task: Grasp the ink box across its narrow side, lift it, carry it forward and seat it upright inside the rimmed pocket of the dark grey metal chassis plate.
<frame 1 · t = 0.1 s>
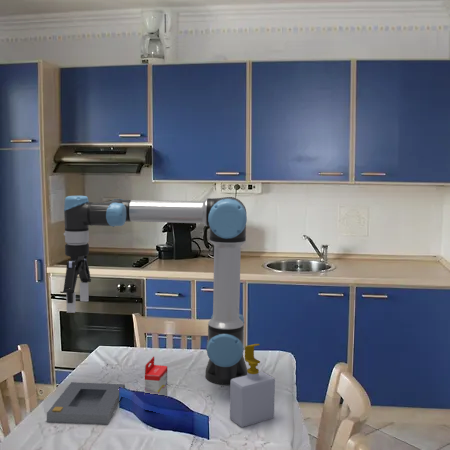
hand: (78, 306, 181), 28 cm above the table, fingers open, 13 cm apart
chassis: (88, 406, 171), on the table
soap bottle: (251, 419, 165), on the table
ink box: (156, 406, 172), on the table
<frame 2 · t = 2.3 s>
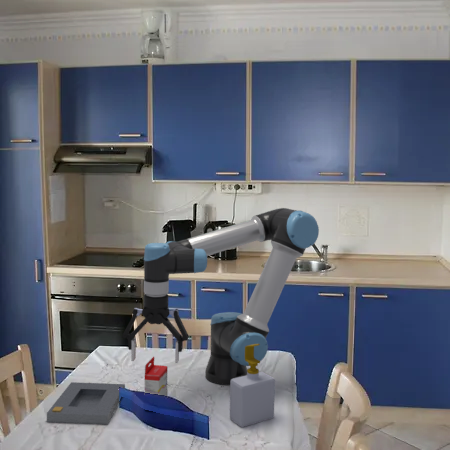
hand: (155, 360, 170), 15 cm above the table, fingers open, 13 cm apart
nothing on the table moved.
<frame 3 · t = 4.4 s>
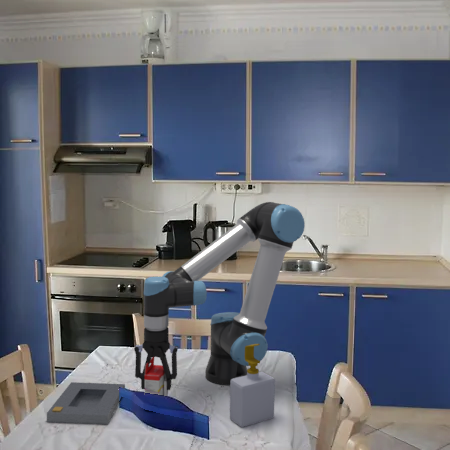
hand: (156, 398, 172), 2 cm above the table, fingers closed on ink box, 5 cm apart
ink box: (156, 406, 172), on the table, touching gripper
everything else where it was.
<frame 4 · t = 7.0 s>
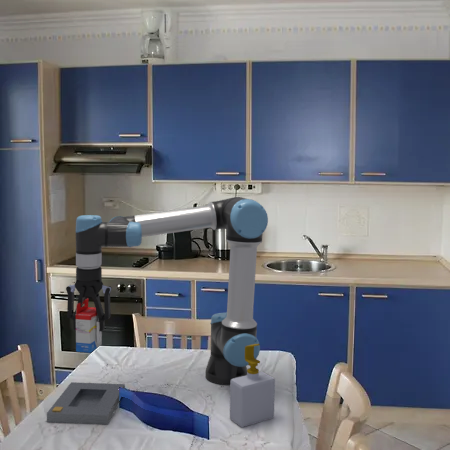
hand: (89, 340, 168), 21 cm above the table, fingers closed on ink box, 5 cm apart
ink box: (89, 348, 168), point 19 cm above the table, touching gripper
everything else where it was.
when the fingers open (4 cm above the table, at t = 9.9 s): ink box stays where it is, resting on chassis.
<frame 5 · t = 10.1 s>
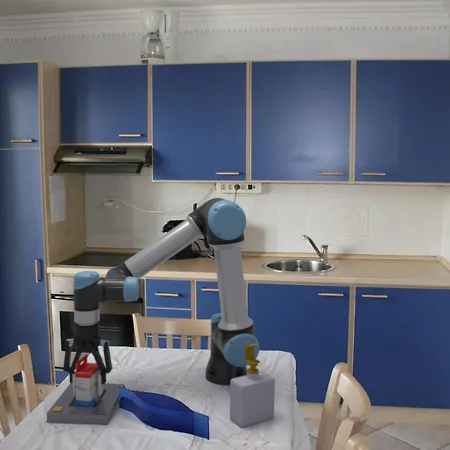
hand: (88, 393, 170), 4 cm above the table, fingers open, 7 cm apart
ink box: (88, 404, 171), point 1 cm above the table, touching chassis
everything else where it was.
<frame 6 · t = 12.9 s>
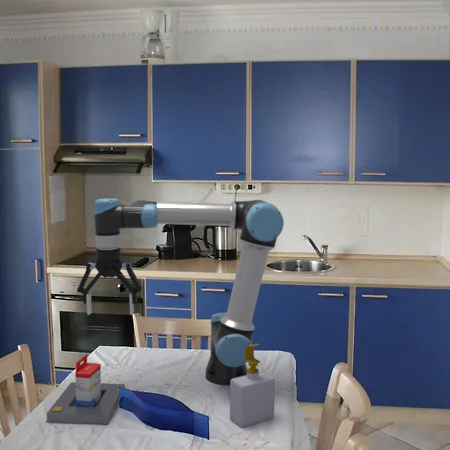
hand: (110, 313, 175), 28 cm above the table, fingers open, 13 cm apart
nothing on the table moved.
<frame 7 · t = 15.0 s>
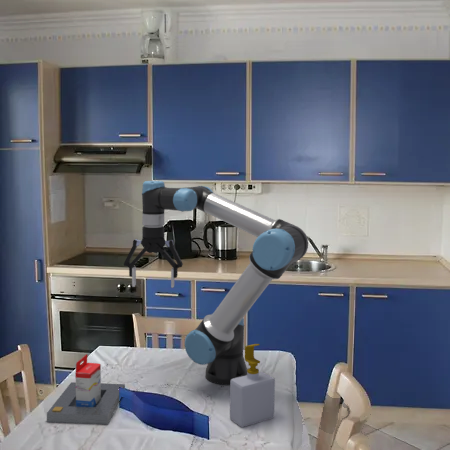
hand: (153, 286, 191), 33 cm above the table, fingers open, 13 cm apart
nothing on the table moved.
at the end: ink box 0.2 cm off-centre on the chassis, point 0.6 cm above the chassis's base; ink box tilted 0°; the gripper is holding nothing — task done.
